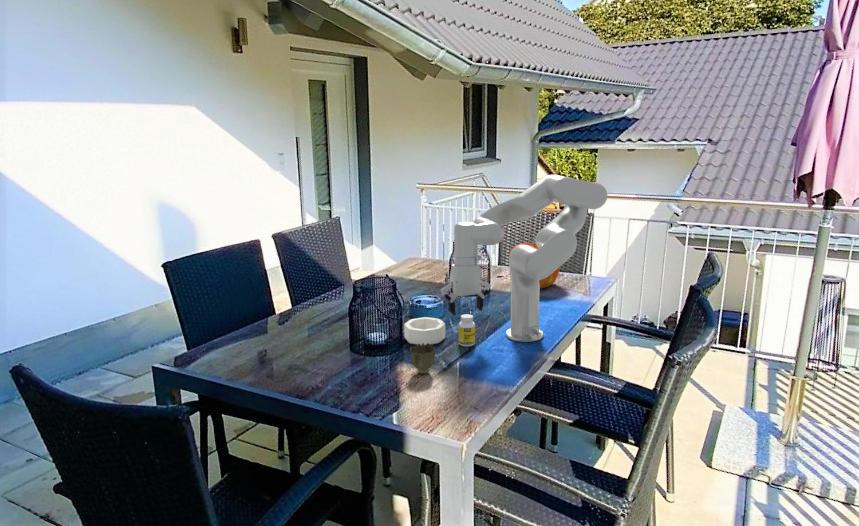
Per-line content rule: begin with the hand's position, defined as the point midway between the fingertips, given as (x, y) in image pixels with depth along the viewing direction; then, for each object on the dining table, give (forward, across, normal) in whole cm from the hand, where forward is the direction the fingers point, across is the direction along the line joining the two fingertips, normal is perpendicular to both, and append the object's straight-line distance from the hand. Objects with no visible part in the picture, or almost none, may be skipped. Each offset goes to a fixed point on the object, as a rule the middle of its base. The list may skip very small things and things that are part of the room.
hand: (465, 311), depth 194 cm
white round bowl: (+12, +11, -11) cm, 19 cm away
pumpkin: (+11, -55, -52) cm, 77 cm away
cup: (+12, +21, +16) cm, 29 cm away
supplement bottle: (+12, 0, 0) cm, 12 cm away
